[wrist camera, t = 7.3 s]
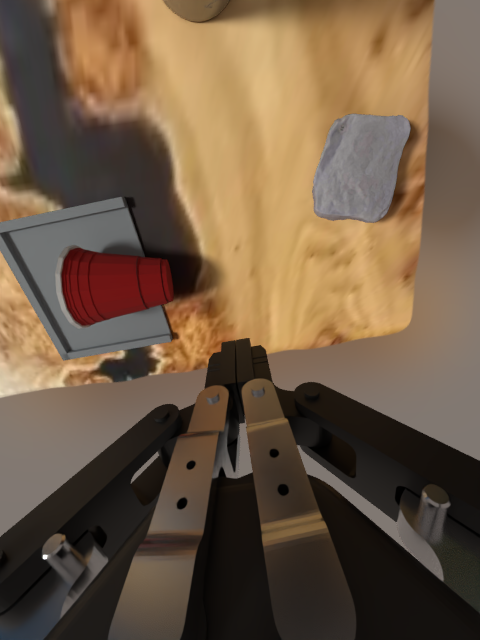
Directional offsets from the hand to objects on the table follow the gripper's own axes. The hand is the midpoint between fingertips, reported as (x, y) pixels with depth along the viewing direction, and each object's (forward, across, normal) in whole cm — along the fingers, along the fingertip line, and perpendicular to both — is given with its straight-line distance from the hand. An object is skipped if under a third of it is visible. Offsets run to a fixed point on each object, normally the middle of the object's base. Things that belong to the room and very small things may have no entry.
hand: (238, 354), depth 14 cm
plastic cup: (+22, +9, +1) cm, 24 cm away
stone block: (+27, -17, -8) cm, 33 cm away
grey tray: (+27, +23, +1) cm, 35 cm away
